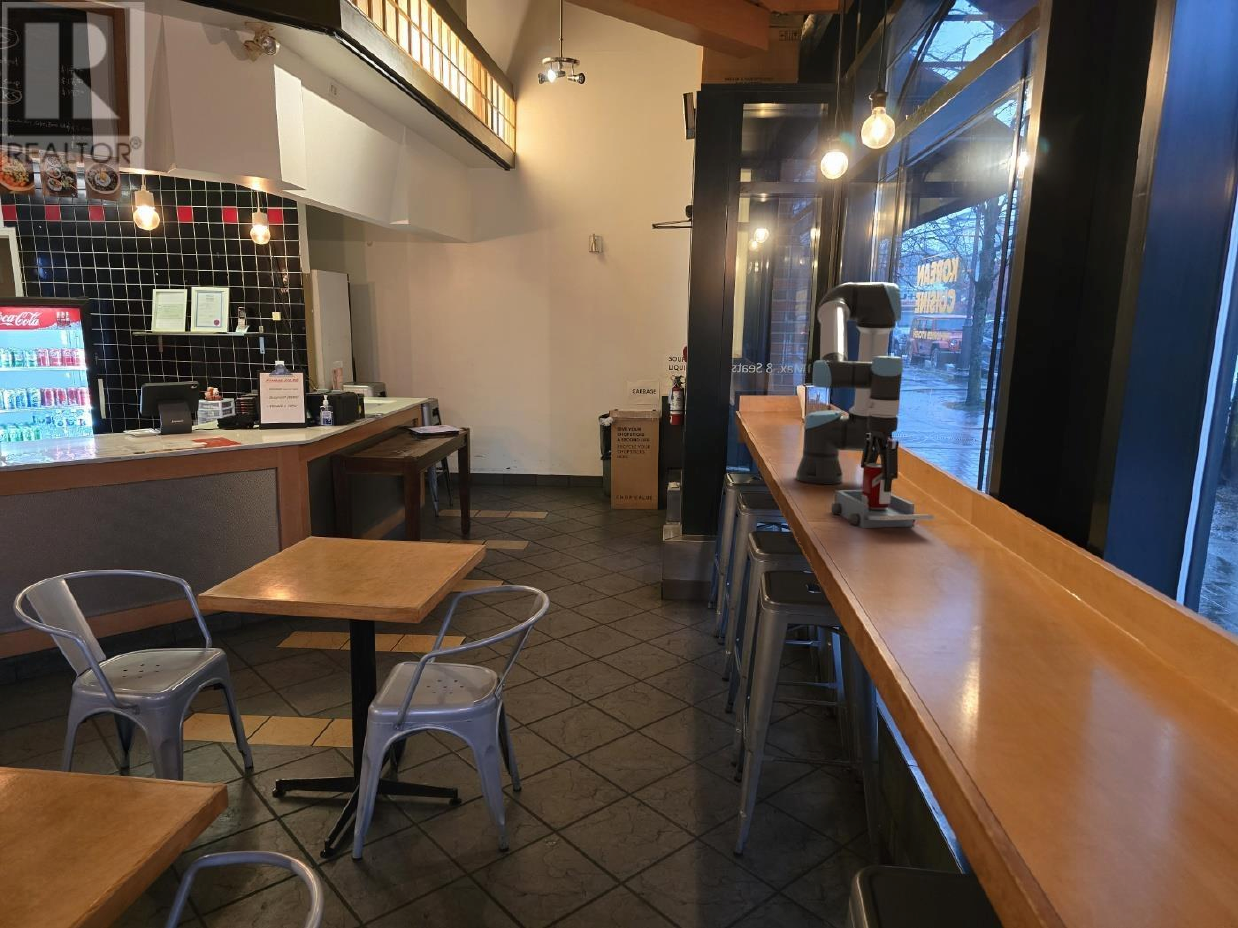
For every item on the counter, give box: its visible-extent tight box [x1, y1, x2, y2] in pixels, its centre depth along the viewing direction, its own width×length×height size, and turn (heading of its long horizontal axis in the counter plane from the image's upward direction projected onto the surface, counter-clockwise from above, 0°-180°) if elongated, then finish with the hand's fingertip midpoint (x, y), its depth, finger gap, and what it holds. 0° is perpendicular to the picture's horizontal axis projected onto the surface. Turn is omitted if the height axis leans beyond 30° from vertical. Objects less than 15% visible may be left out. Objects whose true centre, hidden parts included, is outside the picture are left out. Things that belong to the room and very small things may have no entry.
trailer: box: [830, 489, 916, 529], centre depth 201 cm, size 17×17×6 cm
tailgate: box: [865, 513, 935, 520], centre depth 188 cm, size 1×14×10 cm
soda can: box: [861, 462, 888, 511], centre depth 199 cm, size 7×7×12 cm
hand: (876, 499), depth 199 cm, fingers open, 8 cm apart
